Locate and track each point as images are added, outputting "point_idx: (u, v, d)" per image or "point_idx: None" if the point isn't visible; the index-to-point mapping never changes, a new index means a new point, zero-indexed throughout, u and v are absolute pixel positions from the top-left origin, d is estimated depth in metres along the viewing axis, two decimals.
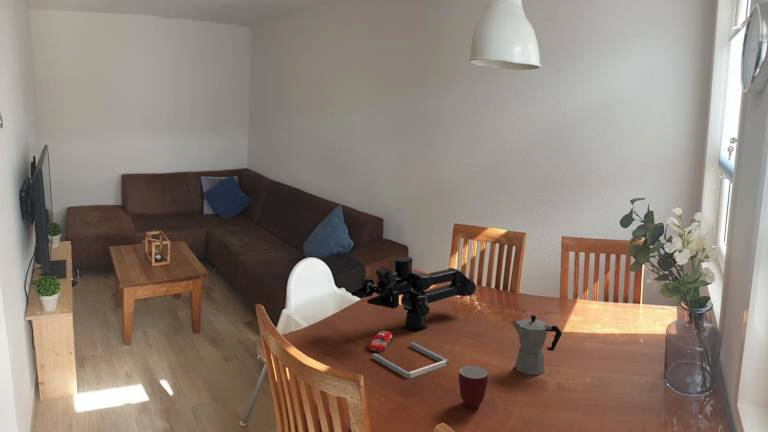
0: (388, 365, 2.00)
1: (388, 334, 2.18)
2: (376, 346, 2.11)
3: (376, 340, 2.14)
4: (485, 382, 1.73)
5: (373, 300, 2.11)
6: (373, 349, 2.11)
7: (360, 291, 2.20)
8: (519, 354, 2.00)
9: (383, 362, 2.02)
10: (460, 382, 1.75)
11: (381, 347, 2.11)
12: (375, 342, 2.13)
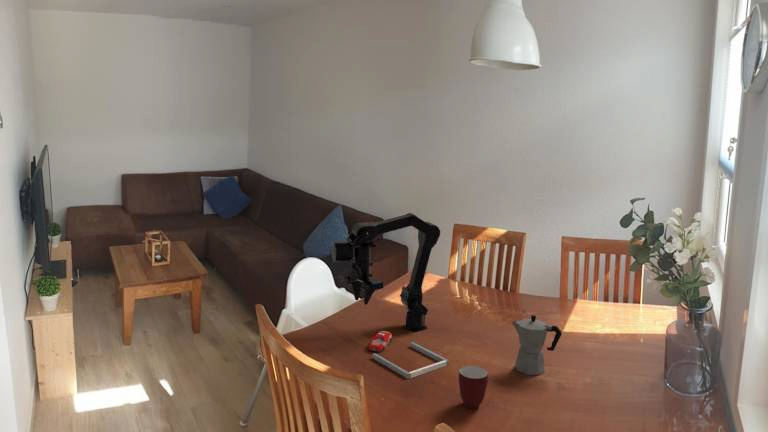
0: (388, 365, 2.00)
1: (388, 334, 2.18)
2: (376, 346, 2.11)
3: (376, 340, 2.14)
4: (485, 382, 1.73)
5: (366, 299, 2.20)
6: (373, 349, 2.11)
7: (357, 289, 2.25)
8: (519, 354, 2.00)
9: (383, 362, 2.02)
10: (460, 382, 1.75)
11: (381, 347, 2.11)
12: (375, 342, 2.13)
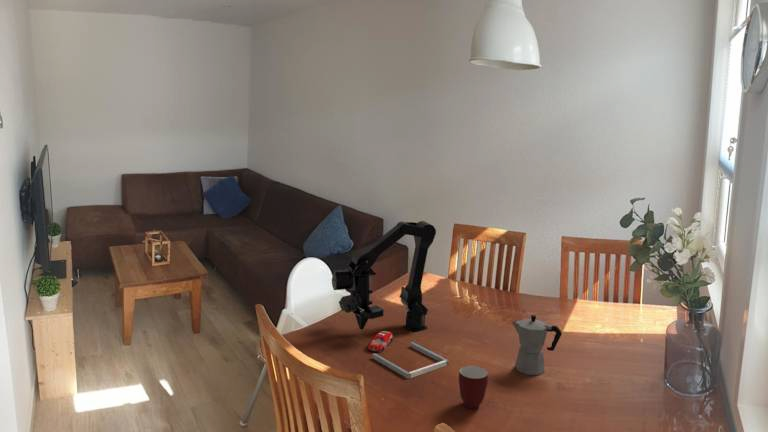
0: (388, 365, 2.00)
1: (388, 334, 2.18)
2: (375, 346, 2.11)
3: (376, 340, 2.14)
4: (485, 382, 1.73)
5: (362, 324, 2.24)
6: (372, 349, 2.11)
7: None
8: (519, 354, 2.00)
9: (383, 362, 2.02)
10: (460, 382, 1.75)
11: (380, 347, 2.11)
12: (375, 342, 2.13)
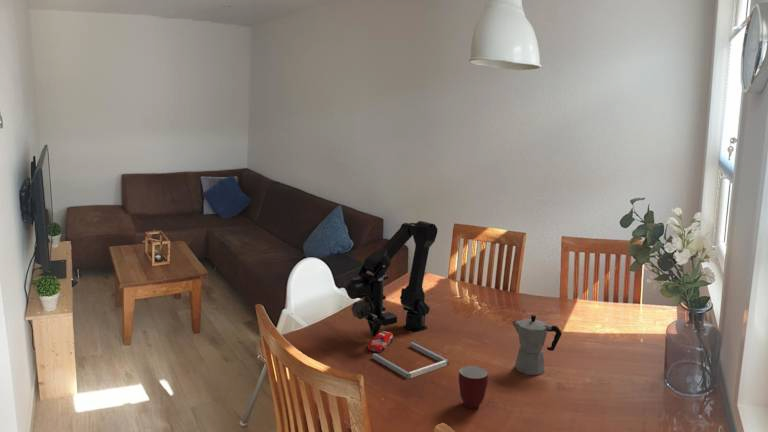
0: (388, 365, 2.00)
1: (389, 334, 2.18)
2: (375, 346, 2.11)
3: (376, 340, 2.14)
4: (485, 382, 1.73)
5: (375, 331, 2.18)
6: (372, 349, 2.11)
7: None
8: (519, 354, 2.00)
9: (383, 362, 2.02)
10: (460, 382, 1.75)
11: (380, 347, 2.11)
12: (375, 342, 2.13)
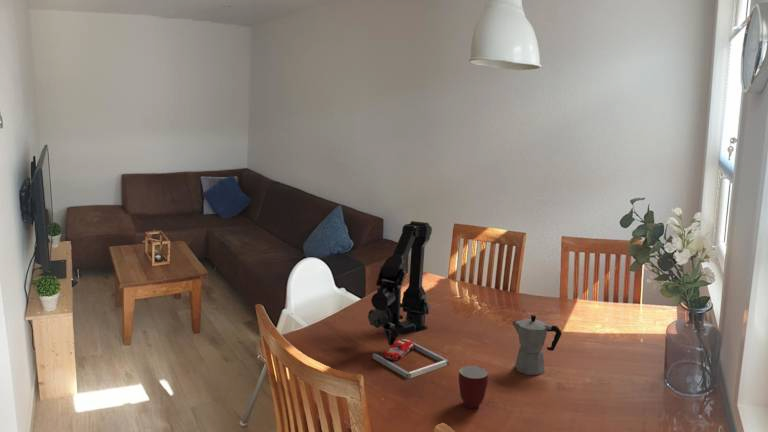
0: (388, 365, 2.00)
1: (408, 343, 2.11)
2: (391, 354, 2.05)
3: (393, 348, 2.08)
4: (485, 382, 1.73)
5: (392, 340, 2.11)
6: (388, 357, 2.05)
7: None
8: (519, 354, 2.00)
9: (383, 362, 2.02)
10: (460, 382, 1.75)
11: (396, 356, 2.04)
12: (391, 350, 2.07)
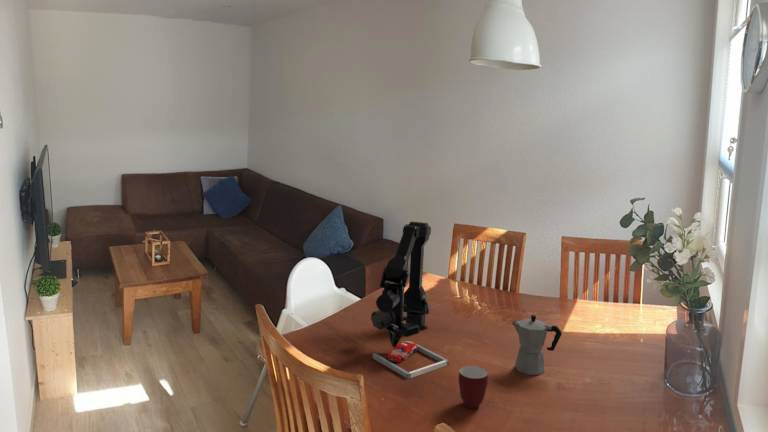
0: (388, 365, 2.00)
1: (411, 345, 2.10)
2: (394, 356, 2.03)
3: (396, 350, 2.07)
4: (485, 382, 1.73)
5: (395, 342, 2.09)
6: (391, 359, 2.03)
7: None
8: (519, 354, 2.00)
9: (383, 362, 2.02)
10: (460, 382, 1.75)
11: (399, 358, 2.03)
12: (394, 352, 2.05)
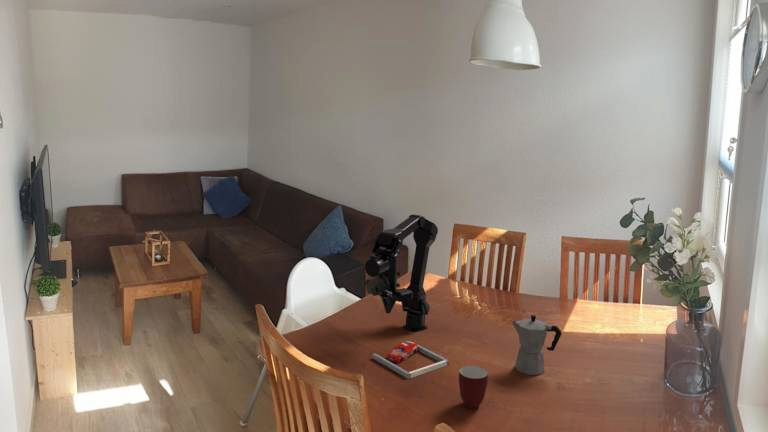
0: (388, 365, 2.00)
1: (412, 345, 2.09)
2: (394, 356, 2.03)
3: (396, 350, 2.06)
4: (485, 382, 1.73)
5: (389, 308, 2.13)
6: (390, 359, 2.03)
7: None
8: (519, 354, 2.00)
9: (383, 362, 2.02)
10: (460, 382, 1.75)
11: (399, 358, 2.03)
12: (394, 352, 2.05)
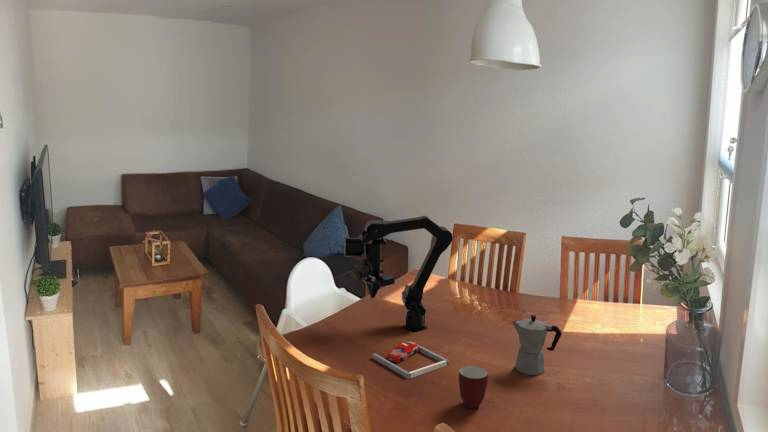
0: (388, 365, 2.00)
1: (412, 345, 2.09)
2: (393, 356, 2.03)
3: (396, 350, 2.06)
4: (485, 382, 1.73)
5: (373, 293, 2.27)
6: (390, 359, 2.04)
7: None
8: (519, 354, 2.00)
9: (383, 362, 2.02)
10: (460, 382, 1.75)
11: (398, 358, 2.03)
12: (394, 352, 2.05)
